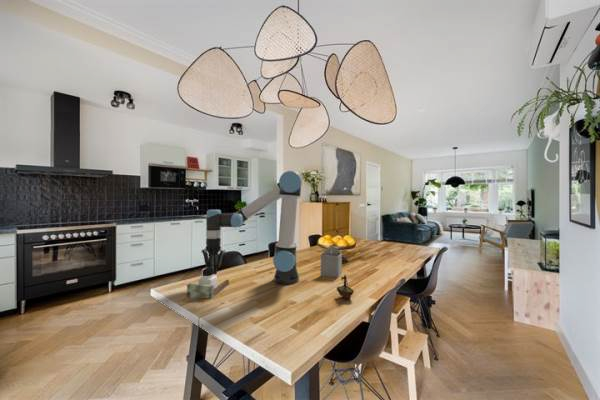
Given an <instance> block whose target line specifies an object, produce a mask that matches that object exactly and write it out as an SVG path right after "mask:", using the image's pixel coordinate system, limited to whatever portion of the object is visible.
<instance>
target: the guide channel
mask: <svg viewBox="0 0 600 400" xmlns="http://www.w3.org/2000/svg"><path fill="white" fill-rule="evenodd" d="M229 283H230V279H226V280H224V281H223V282H221V283H220V284H219V285H217V287H216V288H215V289H214V285H206V284H198V283H188V284H187V285H186V297H187V298H197V299H199V298H200V299H212V298H214V297H215V296H216V295H218V294H219V293H220V292H221V291H222V290H223V289H225V288H226V287H227V286H228V285H230V284H229Z"/></svg>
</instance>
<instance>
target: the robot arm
mask: <svg viewBox="0 0 600 400" xmlns="http://www.w3.org/2000/svg"><path fill="white" fill-rule="evenodd" d="M302 181H303V180H302V177H301V175H300V173H298V172H297V171H293V170H287V171H285V172H283V173H282V174H281V175H280V177H279V180H278V183H276V186H274V187H273V188H271V189H270V190H269V191H266V192H265V193H264V194H262V195H261V196H259V197H257V198H256V199H254V200H253V201H251V202H249V203H248V204H247V205H245V206H244V207H242V208H241V209H239V210H237V211H236V212H232V213H222V210H220V209H208V210H207V211H206V218H205V219H206V220H205V221H206V225H205V226H206V229H205V230H206V233H205V234H206V235H205V237H206V238H205V241H206V242H205V243H206V244H205V245H206V246H205V248H204V249H202V250H201V253H202V254H203V259H204V265H205V268H206V267H212V268H214V275H216V276H217V274H218V268H220V267H221V266H222V261H223V257H224V254H225V252H226V250H225V249H222V246H221V244H222V242H221V241H222V240H221V239H222V238H221V229H222V228H233V229H234V228H241V227H242V226H243V224H244V223H245V222H246V221H248V220H249V219H250V218H252V217H254V216H255V215H257V214H259V213H260V212H262V211H263V210H264V209H266V208H268V207H269V206H271V205H272V204H274V203H275V202H277V201H278V200H280V199H281V204H280V216H279V217H280V218H279V219H280V220H279V228H278V229H279V231H278V241H277V242H276V243H275V246H274V255H273V257H272V262H273V265H274V267H275V269H276V270H275V273H274V275H273V281H274V283H276V284H279V285H280V284H281V285H292V284H296V283H298V282H299V281H300V276H299V272H298V269H297V248H298V247H297V243H296V242H295V235H296V220H297V207H298V199H299V198H300V197H301V195H302V194H301V193H302V192H301V191H302V184H303V182H302Z"/></svg>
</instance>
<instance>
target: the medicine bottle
mask: <svg viewBox="0 0 600 400" xmlns="http://www.w3.org/2000/svg"><path fill="white" fill-rule="evenodd" d="M197 284H206V285H214V289H215V288H216V287H218V275H217V274H216V275H214V268H212V267H206V266H205V268H204V267H203V268H202V269H201V277H199V278H198V283H197Z"/></svg>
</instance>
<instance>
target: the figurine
mask: <svg viewBox="0 0 600 400" xmlns="http://www.w3.org/2000/svg"><path fill="white" fill-rule="evenodd" d="M347 278H348V277H347V274H344V276H341V281H343V285H341V286H337V287H336V291H337V292H338V294H339V296H341V298H342V299H345V300H346V299H347V300H348V299H350V298H351V297H352V296H353V294H354V292H355V290H354V289H352V288H351V287H350V286H348V285H349V283H348V281H347V280H348V279H347Z"/></svg>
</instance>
